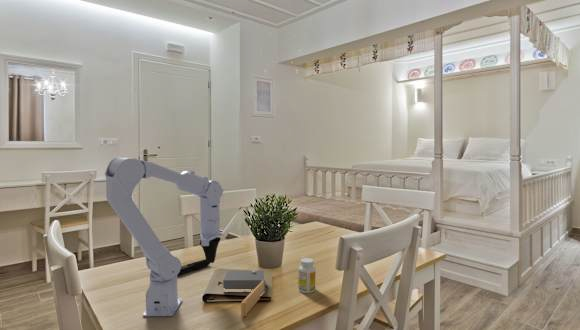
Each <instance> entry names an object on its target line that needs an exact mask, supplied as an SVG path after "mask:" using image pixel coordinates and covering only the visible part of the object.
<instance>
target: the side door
mask: <svg viewBox="0 0 580 330" xmlns="http://www.w3.org/2000/svg"><path fill="white" fill-rule="evenodd" d="M264 291H265V292H266V280H265V279H264V280H262V282H261V283H260V284H259V285H258V286H257V287H256V288H255V289H254V290H253V291H252V292H251V293H248V295H247V296H246V297H245V298H244V299H243V300H242V301H240V318H241V319H243V318H244V317H246V316H247V314H248V313H249V312H250V311H251V309H252V308H253V307H254V306H255V304H257V302H258V301H260V299H261V298H260V295H261V294H262V293H263V292H264Z"/></svg>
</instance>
